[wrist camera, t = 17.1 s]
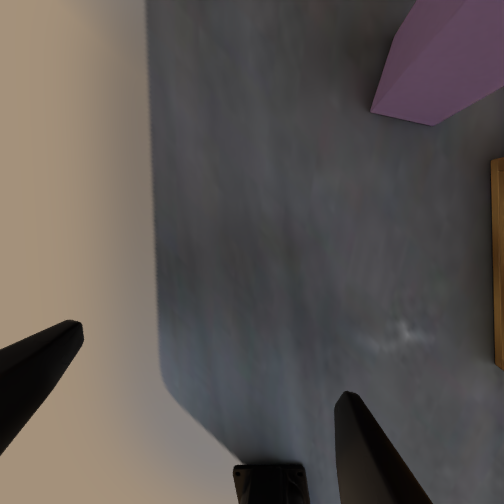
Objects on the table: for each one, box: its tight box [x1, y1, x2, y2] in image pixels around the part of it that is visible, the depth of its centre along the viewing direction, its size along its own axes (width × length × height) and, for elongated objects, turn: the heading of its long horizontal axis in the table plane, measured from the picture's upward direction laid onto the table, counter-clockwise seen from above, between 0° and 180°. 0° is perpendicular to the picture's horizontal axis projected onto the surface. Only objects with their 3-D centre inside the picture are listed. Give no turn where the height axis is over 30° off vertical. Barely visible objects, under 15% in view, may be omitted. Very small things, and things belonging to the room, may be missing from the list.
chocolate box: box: [370, 0, 504, 126], centre depth 10 cm, size 5×4×12 cm
